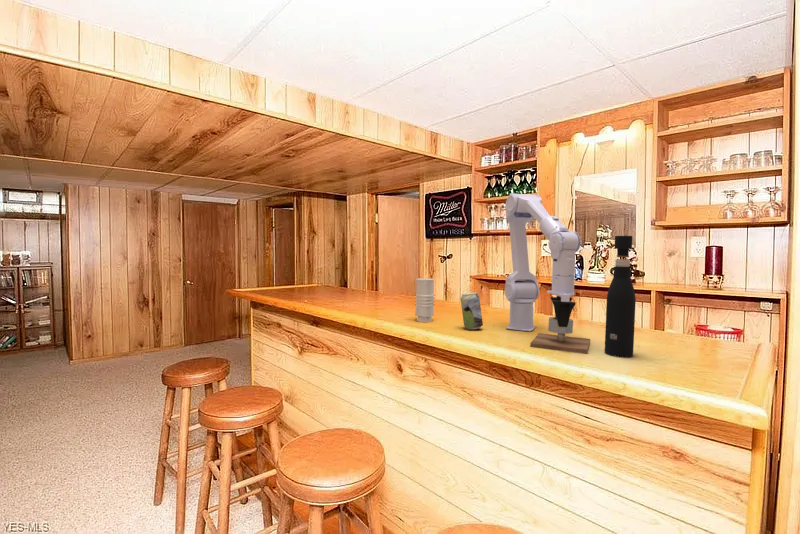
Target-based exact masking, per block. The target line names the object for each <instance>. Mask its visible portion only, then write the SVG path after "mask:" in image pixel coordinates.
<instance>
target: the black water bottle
mask: <svg viewBox="0 0 800 534" xmlns="http://www.w3.org/2000/svg"><path fill="white" fill-rule="evenodd" d="M614 249H615V250H617V254H616V257H617V258H615V260H614V262H615V263H614V265H615V266H613V277H612V279H611V283H610V284H609V287H608V290H607V295H606V305H605V306H606V307H605V309H606V310H605V311H606V312H605V331H604V333H605V335H604V336H605V337H604V354H606V355H608V356H611V357H616V358H617V357H618V358H632V357H634V346H635V345H634V344H635V323H636V322H635V321H636V301H637V300H636V298H637V297H636V293H635V287H634V285H633V281H632V278H631V274H632V273H631V271H632V270H631V269H632V267H631V261H630V259H626V258H629V257H630V256H629V252H630V250H632V249H633V235H615V236H614ZM619 258H620V259H619Z"/></svg>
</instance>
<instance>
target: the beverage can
mask: <svg viewBox="0 0 800 534" xmlns="http://www.w3.org/2000/svg"><path fill="white" fill-rule="evenodd" d="M460 305H461V311H462V312H461V314H462V318H463V327H464V328H466V330H478V329H481V328H482V327H483V326H484V325H483V324H484V323H483V317H482V316H483V315H482V308H481V300H480V296H479V294H478V292H476V291H474V292H472V291H471V292H464V293H461V296H460Z"/></svg>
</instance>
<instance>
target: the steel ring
mask: <svg viewBox="0 0 800 534" xmlns="http://www.w3.org/2000/svg"><path fill="white" fill-rule="evenodd" d="M547 327H548V329H547V330H548V332H551V333H555V334H557V333H563V334H565V335H567V334H568V335H569V334H570V335H572V334H573V333H574V331H573V330H574V329H573V328H574V319H571V318H569V323H568V326H567V327H559V325H558V321H557V317H555V316H551V317H548V326H547Z"/></svg>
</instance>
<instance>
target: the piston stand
mask: <svg viewBox="0 0 800 534" xmlns="http://www.w3.org/2000/svg"><path fill="white" fill-rule="evenodd" d="M590 343H591V338H585V337H579V336H578V337H576V336H570V335H569V336H567V335H566V334H563V333H556V334H550V333H549V334H548V333H541V332H540V333H539V332H538V333H537V334H536V336H535V337H534V338H533V339H532V341H531V342H530V343H529V345H530V347H531V348H539V349H546V350H553V351H554V350H555V351H561V352H562V351H563V352H568V353H570V352H571V353H578V354H586V355H588V354H589V348H590Z"/></svg>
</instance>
